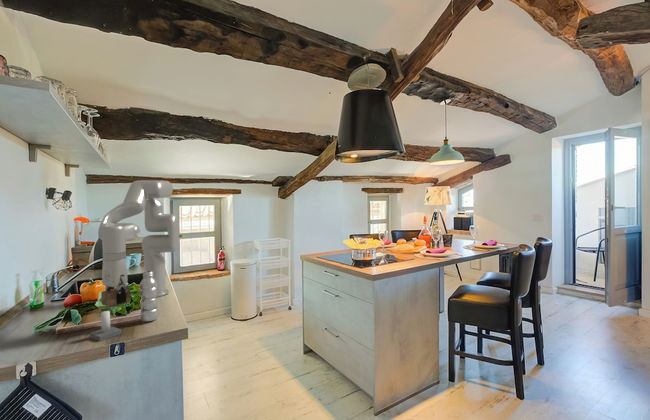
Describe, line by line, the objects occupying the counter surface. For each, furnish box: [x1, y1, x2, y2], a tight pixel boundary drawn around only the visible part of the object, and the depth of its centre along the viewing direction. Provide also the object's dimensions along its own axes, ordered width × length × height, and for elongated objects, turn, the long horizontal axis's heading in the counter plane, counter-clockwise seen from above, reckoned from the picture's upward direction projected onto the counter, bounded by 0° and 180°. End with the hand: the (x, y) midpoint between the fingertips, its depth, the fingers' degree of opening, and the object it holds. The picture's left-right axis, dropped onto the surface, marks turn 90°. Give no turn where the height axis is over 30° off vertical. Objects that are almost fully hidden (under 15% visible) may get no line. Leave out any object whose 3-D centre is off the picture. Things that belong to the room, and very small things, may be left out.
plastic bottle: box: [138, 271, 159, 323], centre depth 122 cm, size 6×7×20 cm
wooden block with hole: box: [100, 287, 132, 308], centre depth 119 cm, size 7×7×5 cm
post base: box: [89, 310, 123, 342], centre depth 109 cm, size 7×7×8 cm
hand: (116, 301), depth 119 cm, fingers closed on wooden block with hole, 7 cm apart
